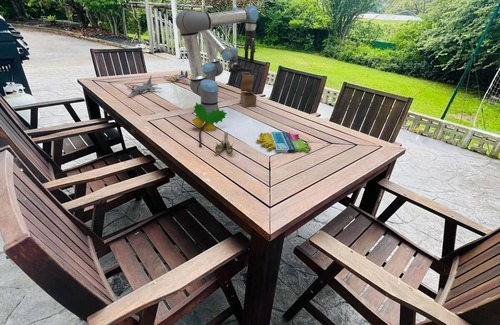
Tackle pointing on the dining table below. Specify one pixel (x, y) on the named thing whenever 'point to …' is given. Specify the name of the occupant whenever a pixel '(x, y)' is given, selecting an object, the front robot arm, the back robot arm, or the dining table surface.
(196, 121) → the ornament
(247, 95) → the chest
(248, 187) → the dining table surface
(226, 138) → the jawbone
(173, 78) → the toy
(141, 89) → the airplane
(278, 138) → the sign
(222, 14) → the front robot arm
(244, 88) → the brown piece
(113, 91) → the dining table surface
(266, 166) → the dining table surface
